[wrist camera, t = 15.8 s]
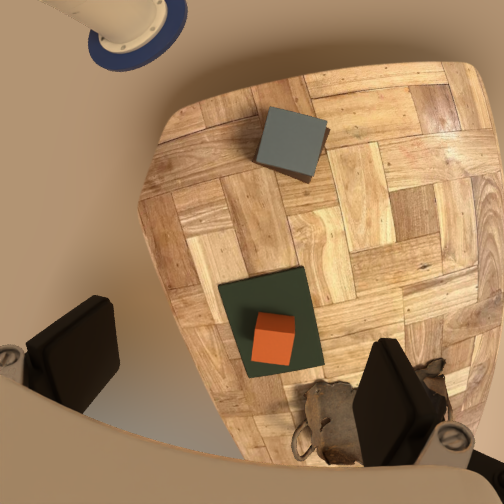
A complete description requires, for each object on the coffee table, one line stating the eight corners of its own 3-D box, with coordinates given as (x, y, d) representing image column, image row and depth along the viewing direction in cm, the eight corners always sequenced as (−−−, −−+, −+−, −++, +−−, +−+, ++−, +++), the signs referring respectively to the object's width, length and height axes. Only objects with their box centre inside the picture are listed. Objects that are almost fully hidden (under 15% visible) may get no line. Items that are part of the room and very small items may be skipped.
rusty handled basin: (428, 431, 45) (442, 465, 36) (295, 453, 49) (293, 492, 40) (450, 355, 41) (475, 389, 31) (289, 380, 45) (288, 424, 35)
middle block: (259, 163, 33) (255, 161, 30) (271, 113, 32) (269, 106, 28) (310, 176, 33) (313, 176, 29) (323, 127, 32) (327, 120, 28)
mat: (218, 285, 42) (217, 286, 41) (303, 266, 40) (304, 267, 39) (249, 376, 45) (248, 378, 45) (324, 362, 43) (324, 365, 43)
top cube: (255, 341, 43) (251, 360, 38) (258, 311, 42) (254, 328, 37) (289, 346, 42) (288, 365, 38) (294, 316, 41) (295, 333, 36)
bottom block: (255, 163, 37) (251, 161, 33) (274, 113, 35) (273, 106, 32) (306, 183, 37) (309, 184, 33) (326, 133, 35) (330, 128, 31)
